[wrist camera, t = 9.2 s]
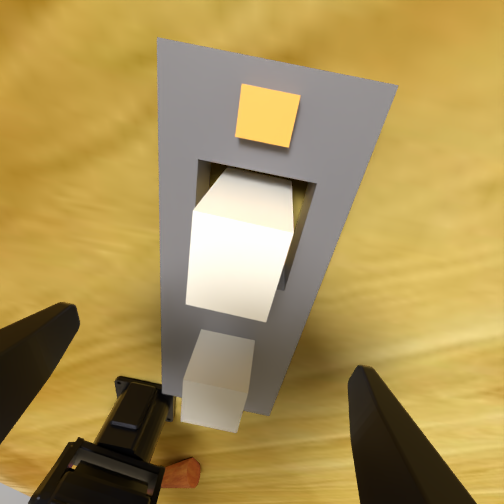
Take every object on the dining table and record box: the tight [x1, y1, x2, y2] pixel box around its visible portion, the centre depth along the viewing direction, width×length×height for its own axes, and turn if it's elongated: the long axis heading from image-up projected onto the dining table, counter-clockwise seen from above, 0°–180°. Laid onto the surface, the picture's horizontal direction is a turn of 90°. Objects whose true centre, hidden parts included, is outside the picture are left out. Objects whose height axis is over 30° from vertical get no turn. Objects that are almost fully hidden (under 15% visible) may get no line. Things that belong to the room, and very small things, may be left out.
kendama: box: [161, 457, 200, 488], centre depth 39 cm, size 6×6×20 cm
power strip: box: [157, 37, 399, 433], centre depth 17 cm, size 26×10×7 cm, turn 170°
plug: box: [186, 167, 294, 322], centre depth 15 cm, size 5×4×7 cm
